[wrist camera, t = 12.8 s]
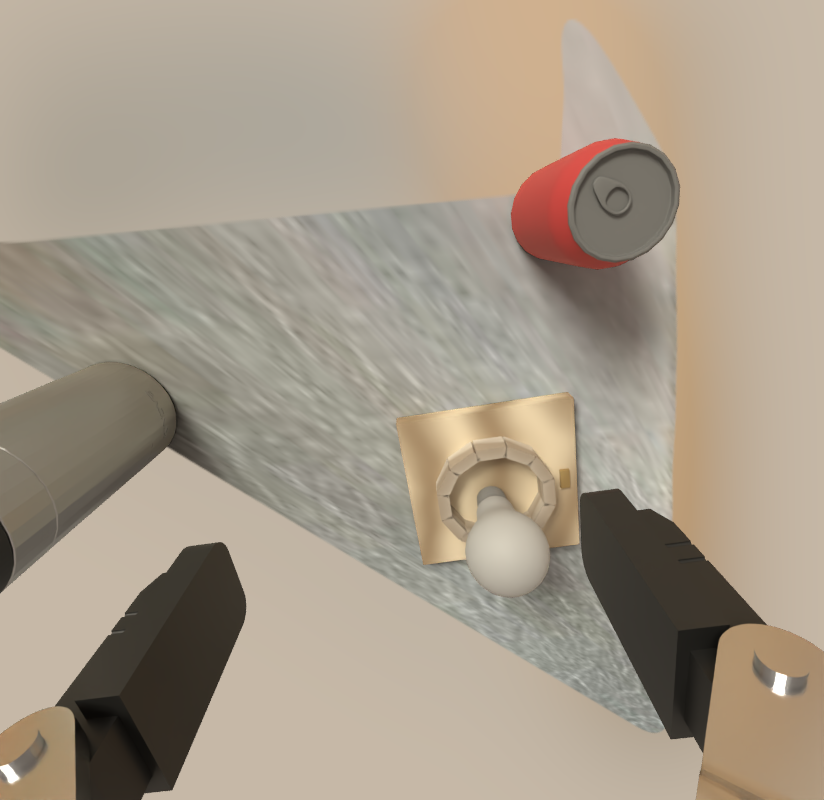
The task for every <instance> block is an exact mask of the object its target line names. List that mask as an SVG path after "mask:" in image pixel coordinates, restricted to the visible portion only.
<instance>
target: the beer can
mask: <svg viewBox="0 0 824 800" xmlns="http://www.w3.org/2000/svg"><path fill="white" fill-rule="evenodd" d="M679 195H680V184H679V181H678V177H677V173H676V169H675V167H674V166H673V164H672V163H671V162H670V160H669V159H668V157H667V156H666V155H665V154H664V153H663V152H661V151H660V150H658V149H657V148H655V147H653V146H652V145H650V144H644V143H640V142H635V141H629V140H624V139H617V138H614V139H609V140H603V141H598V142H594V143H592V144H590V145H588V146H586V147H584V148H582V149H580V150H578V151H576V152H574V153H572V154H570V155H568V156H566V157H564V158H562V159H560V160H558V161H555V162H554V163H551V164H550V165H547V166H545V167H544V168H542V169H540V170H538V171H536V172H534V173H533V174H532V175H531V176H530V177H529V178H528V179H527V180H526V181H525V182H524V183H523V184H522V185H521V187H520V189H519V191H518V193H517V194H516V196H515V198H514V202H513V207H512V212H511V220H512V229H513V232H514V234H515V237H516V239H517V242H518V243H519V244H520V245H521V246H522V247H523V248H524V250H525V251H526V252H528V253H530V254H531V255H533V256H535V257H537V258H540V259H545V260H550V261H554V262H559V263H564V264H569V265H574V266H579V267H585V268H591V269H597V270H598V269H604V268H610V267H616V266H619V265H621V264H623V263H625V262H627V261H629V260H633V259H635V258H637V257H639V256H641V255H643V254H645V253H647V252H648V251H650V250H651V249H652V248H653V247H654V246H655V245H656V244H657V243H659V242H660V241H661V240H662V239H663V237H664V236H665V234H666V233H667V231H668V230H669V228H670V227H671V225H672V224H673V221H674V218H675V215H676V212H677V209H678V206H679Z"/></svg>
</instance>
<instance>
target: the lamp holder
mask: <svg viewBox="0 0 824 800" xmlns="http://www.w3.org/2000/svg"><path fill="white" fill-rule="evenodd" d="M396 426H397V431H398V436H399V441H400V447H401V452H402V457H403V462H404V467H405V472H406V478H407V483H408V488H409V493H410V498H411V503H412V508H413V514H414V519H415V524H416V529H417V534H418V539H419V545H420V550H421V555H422V560H423V565H426V564H434V563H441V562H449V561H456V560H464V559H466V554H465V548H466V541H467V537H468V534H469V532H470V531H471V529H472V527H473V526H474V524H475V522H476V521H477V514H476V513H477V508H478V506H477V495H478V493H479V492H480V490H482V489H483V488H485V487H488V486H496V487H498V488H500V489H501V490H502V491H503V492H504V494H505V496H506V498H507V500H508V501H509V502H510V503H511V504H512V506H513V508H514V509H515V511H518V512H520V513H522V514H524V515H526V516H528V517H529V518H531V519H532V520H533V521H534V522H535V523H536V524H537V525H538V526H539V527H540V528H541V529H542V531H543V533H544V534H545V536H546V538H547V541H548V544H549V548H553V547H561V546H568V545H576V544H579V522H578V497H577V471H576V446H575V420H574V398H573V397H572V396H571V395H570V394H569V393H568V392H565V393H559V394H552V395H546V396H539V397H532V398H526V399H519V400H513V401H506V402H500V403H493V404H487V405H480V406H474V407H467V408H460V409H454V410H447V411H441V412H434V413H428V414H421V415H415V416H408V417H402V418H397V423H396Z"/></svg>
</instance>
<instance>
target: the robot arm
mask: <svg viewBox="0 0 824 800" xmlns="http://www.w3.org/2000/svg"><path fill="white" fill-rule="evenodd" d="M175 430H176V413H175V409H174V405H173V403H172V401H171V399H170V397H169V395H168V394H167V392H166V391H165V390H164V388H163V387H162V386H161V385H160V384H159V383H158V382H157V381H156V380H155V379H154V378H153V377H151V376H150V375H148V374H147V373H145V372H144V371H142V370H140V369H138V368H135V367H133V366H131V365H127V364H123V363H118V362H104V363H99V364H95V365H92V366H90V367H87V368H85V369H82V370H80V371H78V372H75V373H73V374H70V375H68V376H65V377H63V378H61V379H58V380H55V381H53V382H50V383H48V384H46V385H44V386H41V387H38V388H36V389H34V390H31V391H29V392H26V393H24V394H22V395H19V396H17V397H14V398H12V399H10V400H7V401H5V402H2V403H0V593H1V592H2V591H3V590H4V589H5V588H7V586H9V585H10V584H11V583H12V582H13V581H15V580H16V579H17V578H18V577H19V576H20V575H21V574H22V573H24V572H25V571H26V570H27V569H28V568H29V567H30V566H32V565H33V564H34V563H35V562H36V561H37V560H38V559H40V558H41V557H42V556H43V555H44V554H45V553H46V552H47V551H48V550H50V549H51V548H52V547H53V546H54V545H55V544H56V543H57V542H59V541H60V540H61V539H62V538H63V537H64V536H66V535H67V534H68V533H69V532H70V531H71V530H72V529H73V528H75V527H76V526H77V525H78V524H79V523H80V522H82V520H84V519H85V518H86V517H87V516H88V515H90V514H91V513H92V512H93V511H94V510H95V509H97V508H98V507H99V506H100V505H101V504H102V503H103V502H104V501H106V500H107V499H108V498H109V497H110V496H111V495H112V494H114V493H115V492H116V491H117V490H118V489H119V488H121V487H122V486H123V485H124V484H125V483H126V482H127V481H129V480H130V479H131V478H132V477H133V476H134V475H135V474H137V473H138V472H139V471H140V470H141V469H143V468H144V467H145V466H146V465H147V464H148V463H149V462H150V461H152V460H153V459H154V458H155V457H156V456H157V455H158V454H160V453H161V452H162V451H163V450H164V449H165V448H166V447H167V446H168V445H169V444H170V442H171V440H172V438H173V436H174V434H175ZM580 518H581V549H582V558H583V563H584V567H585V570H586V574H587V576H588V579H589V581H590V583H591V585H592V587H593V589H594V591H595V593H596V595H597V597H598V599H599V601H600V603H601V605H602V606H603V608H604V610H605V612H606V614H607V616H608V618H609V620H610V622H611V624H612V626H613V628H614V630H615V632H616V634H617V636H618V638H619V640H620V642H621V643H622V645H623V647H624V649H625V651H626V653H627V655H628V657H629V659H630V661H631V663H632V665H633V667H634V669H635V671H636V673H637V675H638V677H639V678H640V680H641V682H642V684H643V686H644V688H645V690H646V692H647V694H648V696H649V698H650V700H651V702H652V704H653V706H654V708H655V710H656V712H657V714H658V715H659V717H660V719H661V721H662V723H663V725H664V727H665V729H666V731H667V733H668V735H669V737H670V739H678V738H687V737H694V738H695V740H696V742H697V743H698V745H699V747H700V749H701V750H702V752H703V759H702V766H701V771H700V774H699V781H698V788H697V795H696V800H824V652H823V651H822V650H821V649H819V648H818V647H816V646H815V645H814V644H812V643H811V642H809V641H807V640H805V639H804V638H802V637H800V636H797V635H795V634H793V633H791V632H788V631H786V630H783V629H780V628H777V627H772V626H768V625H767V624H766V623H765V622H764V621H763V620H762V619H761V618H760V617H759V616H758V615H757V614H756V612H755V611H754V610H753V609H752V608H751V607H750V606H749V605H748V604H747V603H746V601H745V600H744V599H743V598H742V597H741V596H740V595H739V594H738V593H737V592H736V590H734V588H733V587H732V586H731V585H730V584H729V583H728V582H727V581H726V579H725V578H724V577H723V576H722V575H721V574H720V573H719V572H718V571H717V570H716V568H715V567H714V566H713V565H712V564H711V563H710V562H709V561H706V560H705V557H704V555H703V554H702V553H701V552H700V551H699V550H698V549H697V548H696V547H695V545H692V544H691V542H690V540H689V539H688V538H687V537H686V535H685V534H684V533H683V532H682V531H681V530H680V529H679V528H678V527H677V526H676V525H675V523H674V522H672V521H670V520H668V519H667V518H665V517H663V516H662V515H660V514H658V513H656V512H655V511H653V510H651V509H645V510H636V508H635V507H634V506H633V505H632V503H631V502H630V501H629V500H628V499H627V497H626V496H625V495H624V494H623V492H622V491H621V490H619V489H611V490H604V491H596V492H589V493H582V495H581V497H580ZM245 615H246V598H245V594H244V591H243V588H242V586H241V583H240V580H239V578H238V575H237V572H236V570H235V567H234V564H233V562H232V559H231V557H230V554H229V551H228V549H227V547H226V545H224V544H223V543H221V542H218V543H211V544H204V545H196V546H189V547H186V548H185V549H183V550H182V552H181V553H180V554H179V556H178V557H177V559H176V560H175V561H174V563H173V564H172V565H171V567H170V568H169V570H168V571H167V572H166V573H163V574H161V575H160V576H159V577H158V578H157V579H155V580H154V581H153V582H152V583H151V584H150V585H148V586H147V587H146V588H145V589H144V590H143V591H141V592H140V594H139V595H138V596H137V598H136V599H135V600H134V602H133V603H132V604H131V606H130V607H129V608H128V610H127V611H126V612H125V617H122V618H121V619H120V620H119V621H118V623H117V624H116V625H115V627H114V628H113V630H112V634H111V635H108V636H107V638H106V639H105V640H104V642H103V643H102V644H101V645H100V647H99V648H98V649H97V651H96V652H95V654H94V655H93V656H92V658H91V659H90V660H89V661H88V663H87V664H86V666H85V667H84V668H83V669H82V671H81V672H80V674H79V675H78V676H77V677H76V679H75V680H74V682H73V683H72V684H71V685H70V687H69V688H68V689H67V691H66V692H65V693H64V695H63V696H62V697H61V699H60V700H59V701H58V703H57V704H56V705H55V707H50V708H46V709H43V710H40V711H37V712H35V713H33V714H31V715H29V716H27V717H25V718H23V719H21V720H20V721H18V722H16V723H15V724H13V725H12V726H11V727H9V728H8V729H6V730H5V731H4V732H2V733H1V734H0V800H141V799H142V797H143V795H144V793H151V792H160V791H170V790H173V787H174V785H175V782H176V780H177V778H178V775H179V773H180V771H181V768H182V766H183V764H184V762H185V759H186V757H187V755H188V752H189V750H190V747H191V745H192V743H193V740H194V738H195V736H196V733H197V731H198V729H199V726H200V724H201V722H202V719H203V717H204V715H205V712H206V710H207V708H208V705H209V703H210V701H211V698H212V696H213V693H214V691H215V689H216V687H217V684H218V682H219V680H220V677H221V675H222V673H223V670H224V668H225V666H226V663H227V661H228V659H229V656H230V654H231V652H232V649H233V647H234V645H235V642H236V640H237V638H238V635H239V633H240V631H241V628H242V626H243V623H244V620H245Z"/></svg>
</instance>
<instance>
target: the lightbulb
mask: <svg viewBox="0 0 824 800" xmlns="http://www.w3.org/2000/svg"><path fill="white" fill-rule="evenodd" d="M477 506H478V508H477V513H476V514H477V521H476V522H475V524H474V526H473V527H472V529H471V531H470V532H469V534H468V537H467V541H466V548H465V554H466V561H467V565H468V567H469V570H470V572H471V574H472V575H473V577H474V578H475V580H476V581H477V582H478V583H479V584H480V585H481V586H482V587H483V588H484V589H486V590H488V591H489V592H491V593H493V594H495V595H498V596H502V597H512V598H513V597H520V596H523V595H526V594H528V593H530V592H531V591H533V590H534V589H536V588H537V587H538V586H539V585H540V584H541V582H542V581H543V579H544V578H545V576H546V574H547V572H548V569H549V564H550V549H549V544H548V541H547V538H546V536H545V534H544V533H543V531H542V529H541V528H540V527H539V526H538V525H537V524H536V523H535V522H534V521H533V520H532V519H531V518H529V517H528V516H526V515H524V514H522V513H520V512H518V511H515V509H514V508H513V506H512V504H511V503H510V502H509V501H508V500H507V498H506V496H505V494H504V492H503V491H502V490H501V489H500V488H498V487H496V486H488V487H485V488H483V489H482V490H480V492H479V493H478V495H477Z"/></svg>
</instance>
